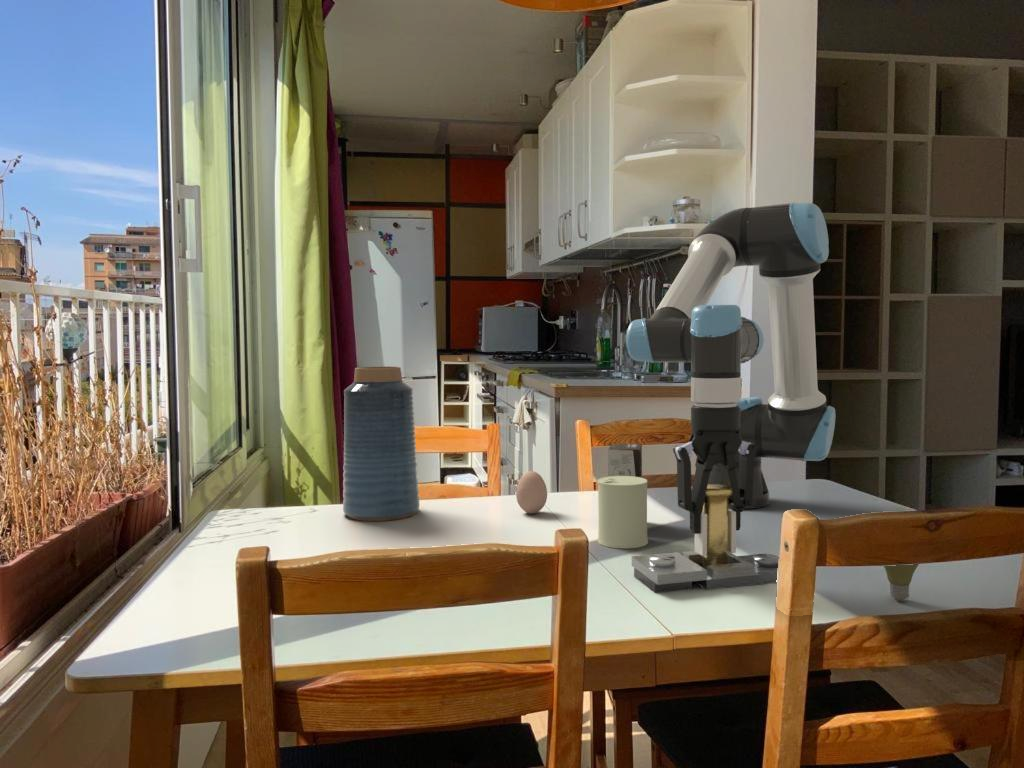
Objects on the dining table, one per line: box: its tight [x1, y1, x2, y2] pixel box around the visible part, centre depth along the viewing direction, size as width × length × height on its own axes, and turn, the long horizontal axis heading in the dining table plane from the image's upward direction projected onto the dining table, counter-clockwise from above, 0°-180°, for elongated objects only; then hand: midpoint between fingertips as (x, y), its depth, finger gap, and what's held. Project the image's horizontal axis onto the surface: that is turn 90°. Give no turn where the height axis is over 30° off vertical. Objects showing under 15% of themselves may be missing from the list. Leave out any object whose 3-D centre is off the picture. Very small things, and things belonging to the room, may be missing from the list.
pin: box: [702, 484, 733, 570], centre depth 128 cm, size 5×5×14 cm
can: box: [597, 476, 649, 550], centre depth 150 cm, size 9×9×12 cm
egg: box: [515, 470, 548, 515], centre depth 174 cm, size 7×7×9 cm
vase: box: [342, 365, 420, 522], centre depth 175 cm, size 16×16×32 cm
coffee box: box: [607, 442, 643, 478], centre depth 162 cm, size 9×6×16 cm
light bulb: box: [883, 563, 920, 602], centre depth 117 cm, size 6×6×10 cm
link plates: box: [631, 550, 780, 593], centre depth 128 cm, size 24×10×4 cm, turn 104°
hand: (715, 551), depth 128 cm, fingers open, 4 cm apart
